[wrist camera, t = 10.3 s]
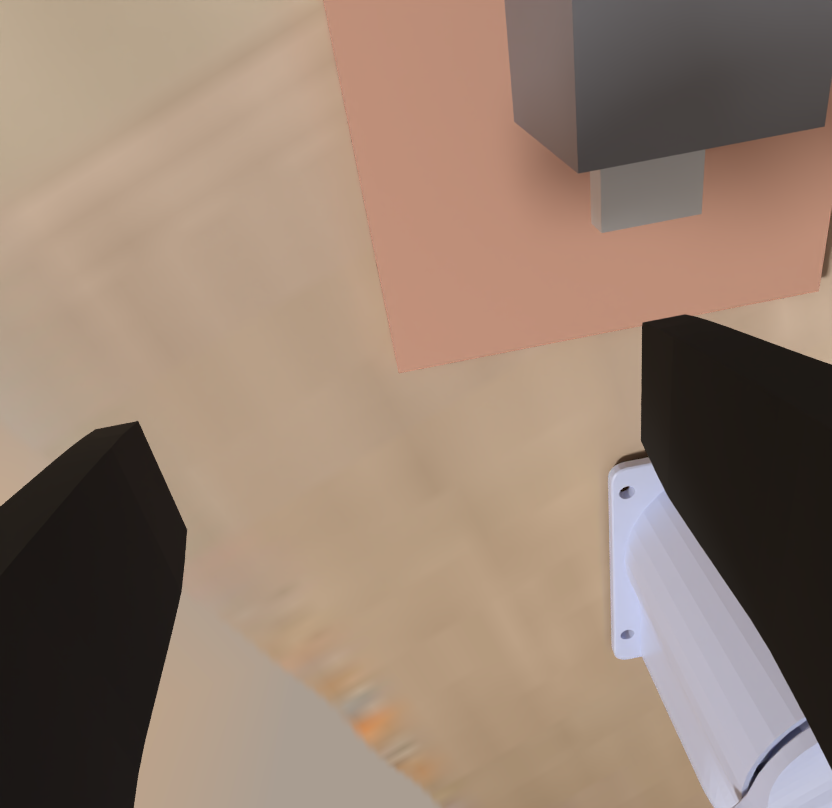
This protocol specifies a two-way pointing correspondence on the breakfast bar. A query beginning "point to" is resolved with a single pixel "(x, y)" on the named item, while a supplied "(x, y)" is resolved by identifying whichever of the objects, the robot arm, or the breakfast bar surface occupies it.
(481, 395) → the breakfast bar surface
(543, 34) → the grey round-top block
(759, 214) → the rubber mat
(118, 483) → the robot arm
